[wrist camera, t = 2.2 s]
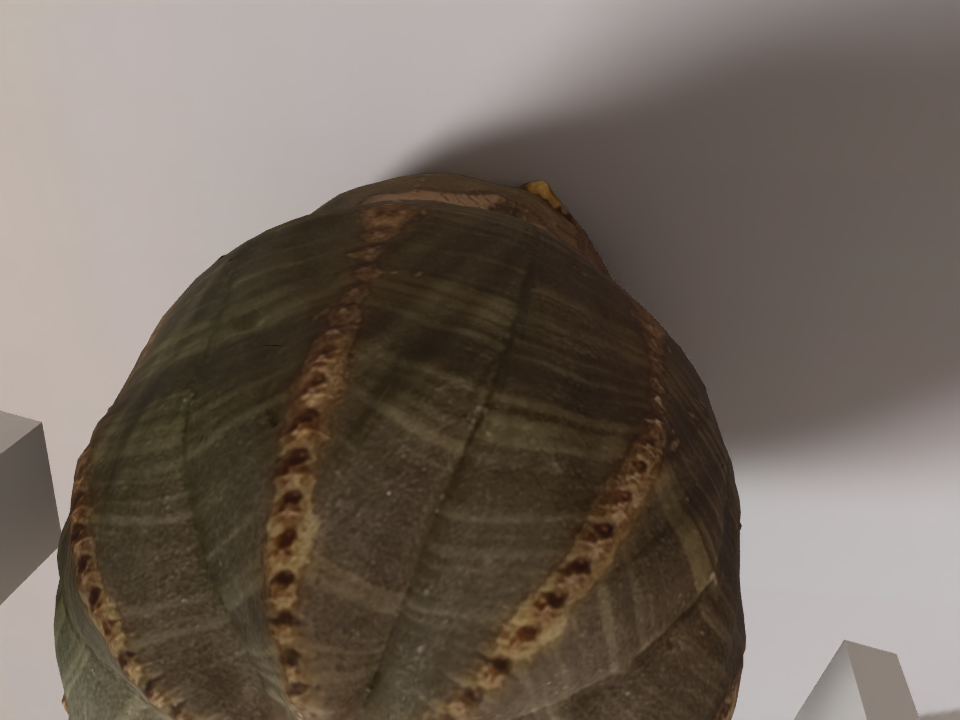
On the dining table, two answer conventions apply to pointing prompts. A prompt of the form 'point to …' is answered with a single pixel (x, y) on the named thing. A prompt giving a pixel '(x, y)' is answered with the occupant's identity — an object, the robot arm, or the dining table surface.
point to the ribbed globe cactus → (405, 485)
